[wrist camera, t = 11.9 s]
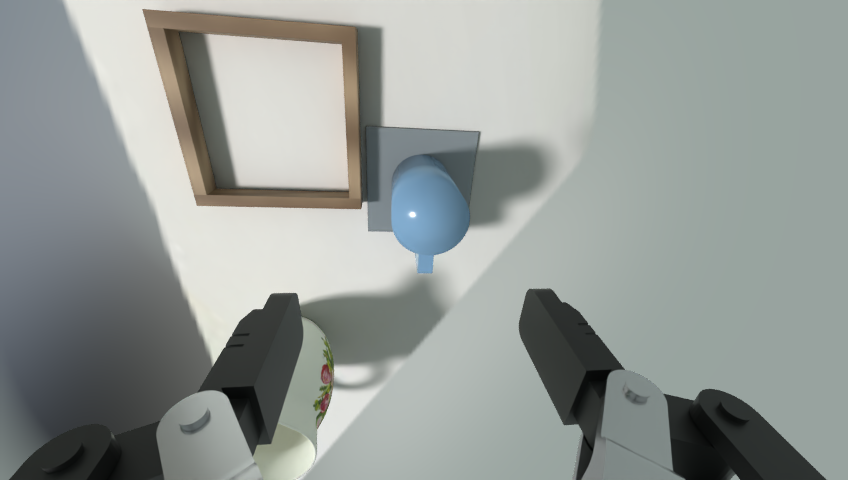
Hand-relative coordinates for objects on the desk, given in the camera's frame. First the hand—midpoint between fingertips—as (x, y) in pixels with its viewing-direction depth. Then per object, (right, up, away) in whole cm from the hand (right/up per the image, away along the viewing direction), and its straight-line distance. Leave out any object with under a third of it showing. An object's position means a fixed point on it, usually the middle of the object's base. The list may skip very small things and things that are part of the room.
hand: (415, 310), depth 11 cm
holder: (-12, +12, +16) cm, 23 cm away
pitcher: (-15, -10, +27) cm, 32 cm away
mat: (0, +8, +19) cm, 21 cm away
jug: (0, +7, +20) cm, 21 cm away
